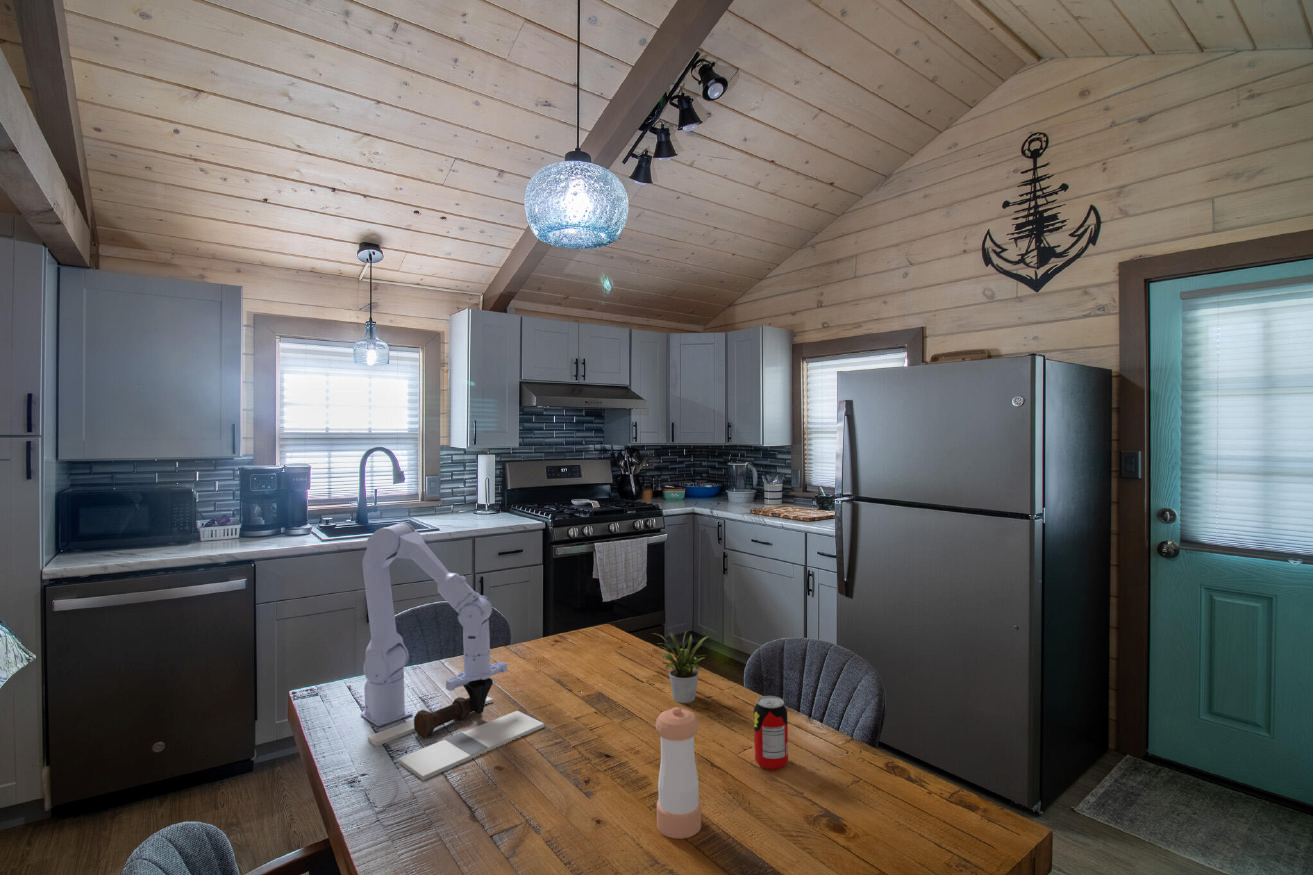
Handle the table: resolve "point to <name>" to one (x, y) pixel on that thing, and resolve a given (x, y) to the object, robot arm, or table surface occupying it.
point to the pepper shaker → (678, 775)
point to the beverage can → (771, 732)
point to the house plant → (683, 670)
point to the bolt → (441, 716)
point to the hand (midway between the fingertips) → (478, 711)
